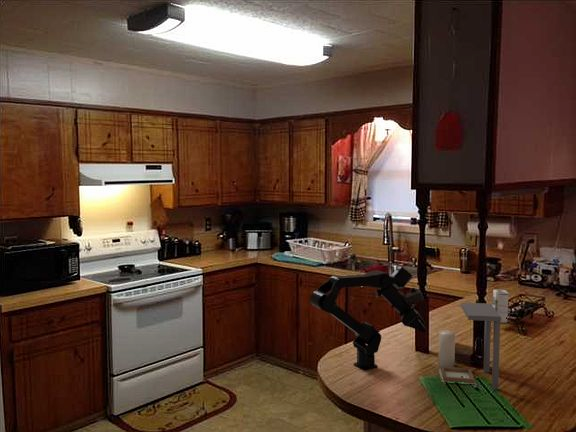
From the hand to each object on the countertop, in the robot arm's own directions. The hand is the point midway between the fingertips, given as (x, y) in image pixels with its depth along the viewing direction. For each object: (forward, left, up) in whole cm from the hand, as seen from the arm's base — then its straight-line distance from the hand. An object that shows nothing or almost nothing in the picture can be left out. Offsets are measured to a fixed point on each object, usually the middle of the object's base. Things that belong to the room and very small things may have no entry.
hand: (424, 327), depth 189 cm
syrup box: (-20, +68, -14) cm, 72 cm away
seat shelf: (+18, +3, -13) cm, 22 cm away
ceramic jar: (+5, +6, -13) cm, 16 cm away
